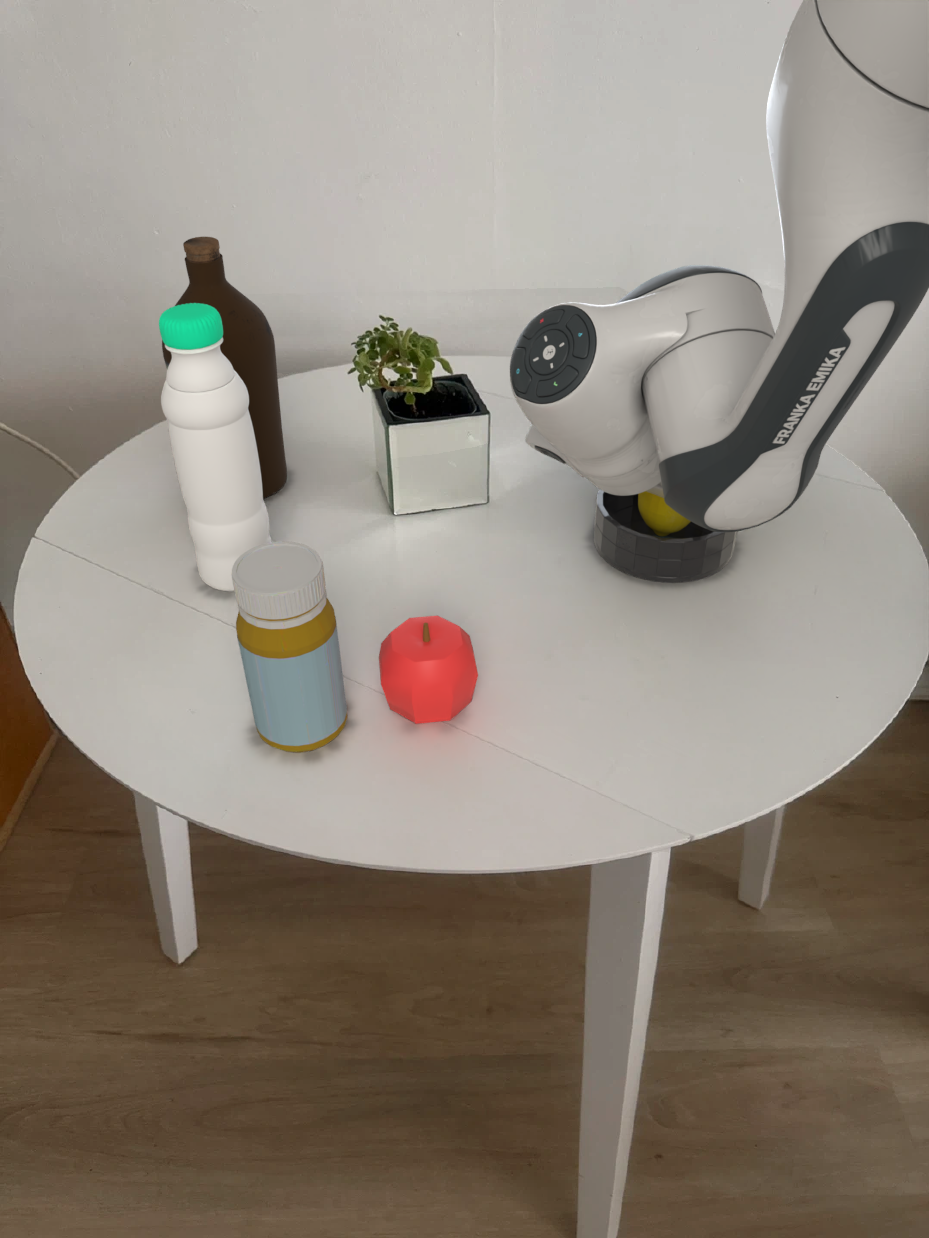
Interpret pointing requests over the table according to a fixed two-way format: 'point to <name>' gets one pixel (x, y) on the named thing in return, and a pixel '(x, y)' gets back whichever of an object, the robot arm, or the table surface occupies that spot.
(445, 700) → the apple
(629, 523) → the pan
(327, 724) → the bottle
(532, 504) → the table surface
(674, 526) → the fruit
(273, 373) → the olive oil
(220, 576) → the water bottle
